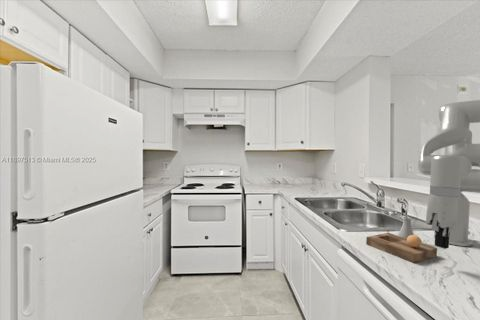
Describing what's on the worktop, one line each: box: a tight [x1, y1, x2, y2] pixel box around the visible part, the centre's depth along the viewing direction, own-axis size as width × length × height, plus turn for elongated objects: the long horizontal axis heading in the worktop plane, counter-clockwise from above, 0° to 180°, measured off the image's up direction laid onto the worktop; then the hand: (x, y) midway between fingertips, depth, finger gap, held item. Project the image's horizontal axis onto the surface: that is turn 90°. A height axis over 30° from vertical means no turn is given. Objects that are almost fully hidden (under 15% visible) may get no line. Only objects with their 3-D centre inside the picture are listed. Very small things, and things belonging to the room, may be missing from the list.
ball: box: [407, 234, 423, 248], centre depth 87 cm, size 4×4×4 cm
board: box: [365, 232, 438, 264], centre depth 91 cm, size 14×18×3 cm
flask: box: [397, 216, 415, 238], centre depth 101 cm, size 7×7×10 cm
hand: (441, 246), depth 78 cm, fingers closed
